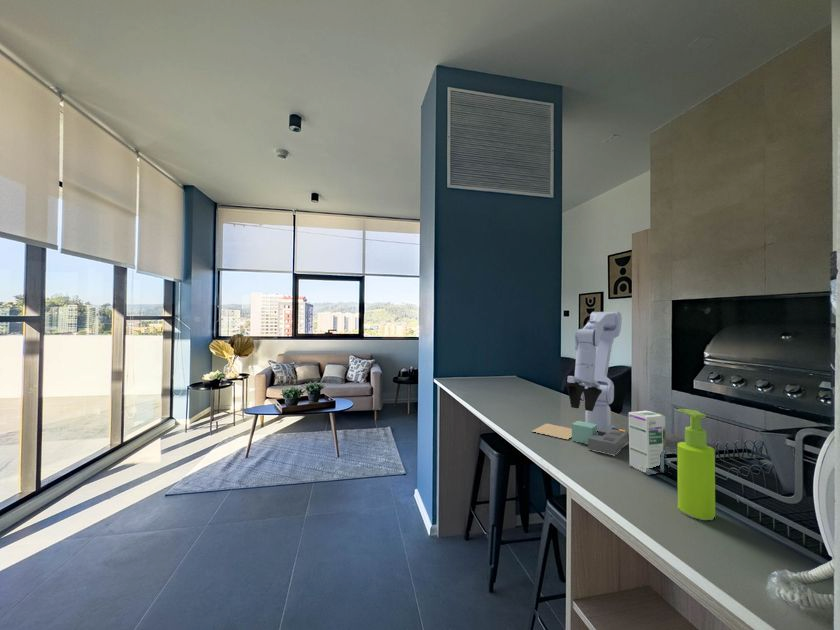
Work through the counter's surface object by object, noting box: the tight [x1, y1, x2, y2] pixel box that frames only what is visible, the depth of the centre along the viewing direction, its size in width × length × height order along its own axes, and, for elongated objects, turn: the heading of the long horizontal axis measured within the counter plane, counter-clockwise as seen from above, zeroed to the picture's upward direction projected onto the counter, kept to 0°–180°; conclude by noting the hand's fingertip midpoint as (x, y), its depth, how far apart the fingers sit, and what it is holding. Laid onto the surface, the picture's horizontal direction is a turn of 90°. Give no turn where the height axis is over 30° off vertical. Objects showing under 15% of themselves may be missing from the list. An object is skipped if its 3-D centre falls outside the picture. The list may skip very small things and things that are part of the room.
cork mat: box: [531, 422, 572, 440], centre depth 120 cm, size 12×12×1 cm
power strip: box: [587, 428, 629, 455], centre depth 106 cm, size 14×7×4 cm, turn 137°
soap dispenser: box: [676, 408, 716, 519], centre depth 71 cm, size 6×7×20 cm
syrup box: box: [628, 410, 667, 472], centre depth 90 cm, size 6×6×14 cm
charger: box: [571, 420, 598, 444], centre depth 110 cm, size 5×8×6 cm, turn 47°
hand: (582, 409), depth 110 cm, fingers open, 7 cm apart
